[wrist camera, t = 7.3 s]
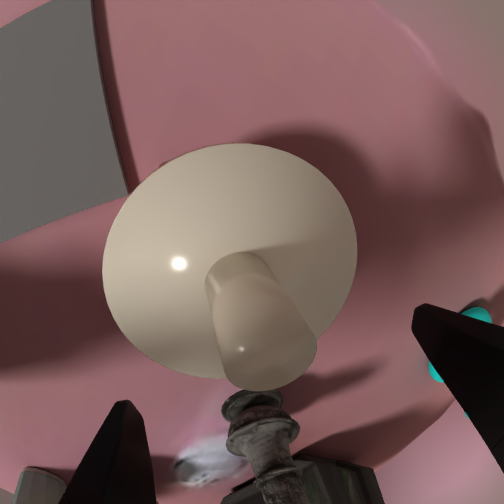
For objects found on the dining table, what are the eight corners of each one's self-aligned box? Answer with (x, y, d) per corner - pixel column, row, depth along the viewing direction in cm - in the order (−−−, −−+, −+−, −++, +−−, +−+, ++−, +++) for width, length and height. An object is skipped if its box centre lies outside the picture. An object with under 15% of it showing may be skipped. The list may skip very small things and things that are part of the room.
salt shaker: (254, 374, 21) (311, 517, 11) (298, 397, 24) (356, 511, 13) (203, 413, 22) (234, 545, 11) (250, 431, 25) (289, 541, 14)
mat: (-29, 254, 12) (-33, 258, 12) (-66, 84, 7) (-71, 84, 7) (130, 192, 14) (128, 195, 14) (91, -11, 9) (89, -16, 8)
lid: (159, 387, 15) (164, 471, 10) (69, 187, 10) (2, 237, 5) (349, 329, 16) (400, 393, 11) (338, 123, 11) (430, 132, 7)
